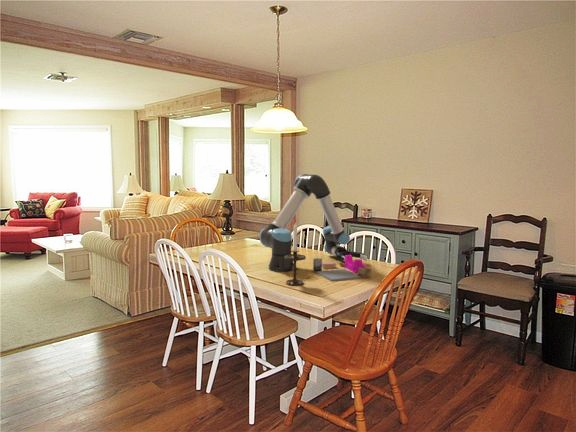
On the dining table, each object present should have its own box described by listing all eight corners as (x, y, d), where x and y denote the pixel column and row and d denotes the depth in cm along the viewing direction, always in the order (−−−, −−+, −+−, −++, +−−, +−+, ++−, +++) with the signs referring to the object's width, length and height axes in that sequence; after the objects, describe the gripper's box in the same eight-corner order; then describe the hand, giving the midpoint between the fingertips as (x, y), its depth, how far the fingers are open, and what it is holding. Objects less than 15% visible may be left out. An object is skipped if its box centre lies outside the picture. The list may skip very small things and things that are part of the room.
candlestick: (283, 280, 222) (284, 215, 218) (304, 280, 223) (304, 215, 219) (285, 286, 212) (285, 218, 208) (306, 286, 212) (307, 218, 208)
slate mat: (331, 281, 222) (331, 279, 222) (316, 273, 239) (316, 271, 238) (360, 278, 229) (360, 276, 229) (344, 270, 245) (344, 268, 245)
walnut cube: (363, 278, 228) (363, 269, 228) (358, 276, 233) (358, 267, 232) (370, 277, 230) (371, 268, 230) (365, 275, 235) (366, 266, 234)
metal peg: (315, 272, 241) (315, 260, 240) (311, 270, 246) (311, 258, 245) (323, 271, 243) (323, 259, 242) (319, 269, 248) (319, 258, 247)
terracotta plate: (323, 269, 250) (323, 264, 250) (320, 267, 255) (320, 262, 255) (335, 268, 252) (335, 263, 252) (332, 266, 257) (332, 261, 257)
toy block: (365, 272, 242) (366, 260, 241) (355, 273, 240) (356, 260, 239) (354, 266, 256) (354, 254, 255) (344, 267, 254) (345, 255, 253)
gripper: (355, 256, 279) (373, 263, 260) (322, 258, 269) (339, 267, 250) (356, 245, 278) (374, 252, 259) (322, 247, 268) (339, 254, 249)
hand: (357, 259), depth 254 cm, fingers open, 13 cm apart
